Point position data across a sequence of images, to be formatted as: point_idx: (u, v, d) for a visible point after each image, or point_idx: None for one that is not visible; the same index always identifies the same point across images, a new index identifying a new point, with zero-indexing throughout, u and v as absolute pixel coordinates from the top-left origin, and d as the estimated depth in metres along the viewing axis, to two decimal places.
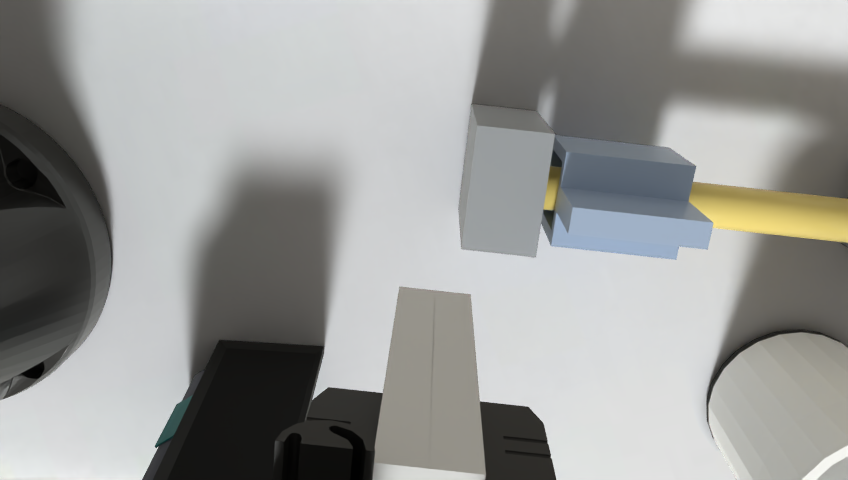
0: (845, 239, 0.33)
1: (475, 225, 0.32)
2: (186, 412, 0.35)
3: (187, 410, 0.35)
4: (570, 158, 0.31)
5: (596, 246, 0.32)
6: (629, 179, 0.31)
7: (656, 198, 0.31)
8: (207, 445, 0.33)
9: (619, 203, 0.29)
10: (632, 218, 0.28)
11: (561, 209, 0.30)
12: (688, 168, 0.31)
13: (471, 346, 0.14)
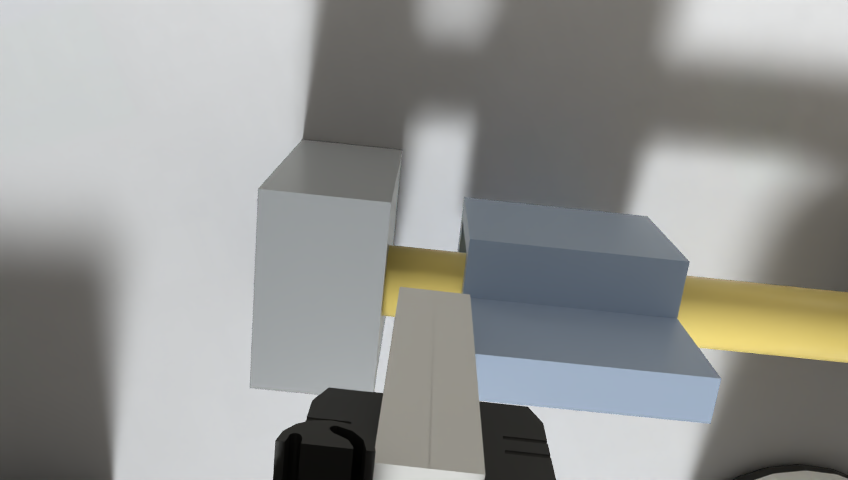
0: None
1: (269, 350, 0.19)
2: None
3: None
4: (477, 249, 0.18)
5: None
6: (577, 283, 0.18)
7: (623, 315, 0.18)
8: None
9: (556, 334, 0.17)
10: (576, 371, 0.16)
11: None
12: (676, 265, 0.18)
13: (471, 346, 0.14)
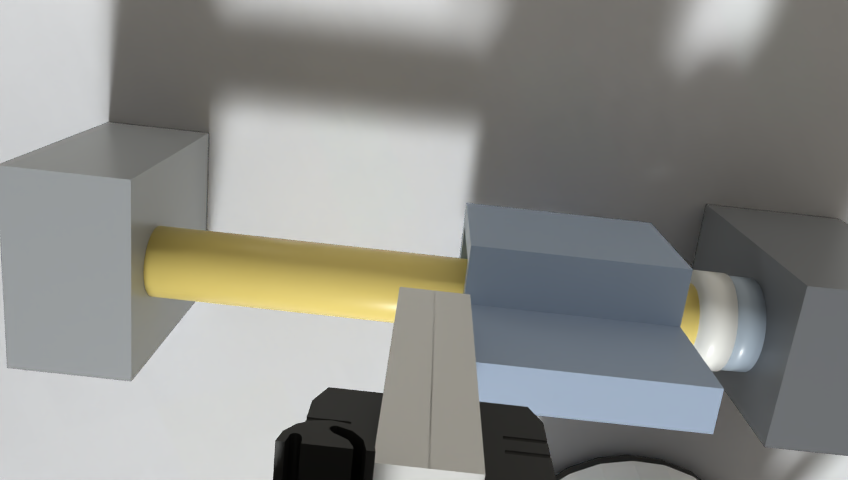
0: None
1: (23, 330, 0.19)
2: None
3: None
4: (478, 256, 0.18)
5: None
6: (579, 291, 0.18)
7: (625, 323, 0.18)
8: None
9: (558, 342, 0.17)
10: (577, 380, 0.15)
11: None
12: (680, 273, 0.18)
13: (471, 346, 0.14)
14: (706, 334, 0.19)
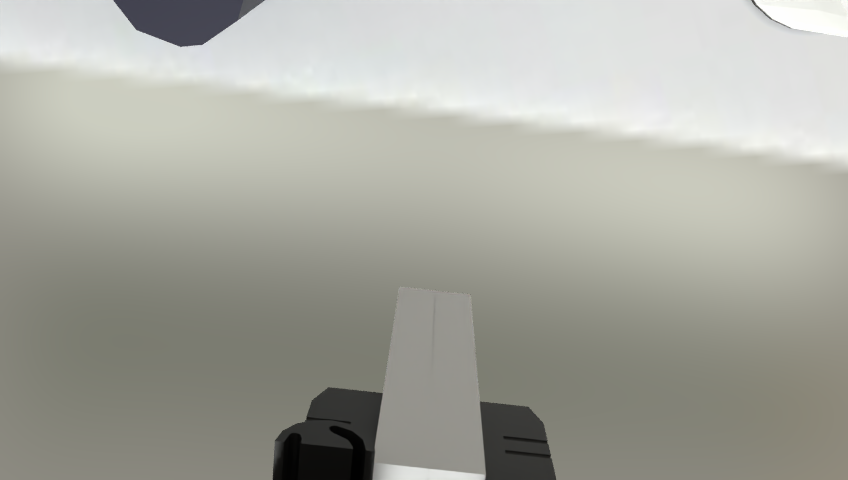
0: None
1: None
2: None
3: None
4: None
5: None
6: None
7: None
8: None
9: None
10: None
11: None
12: None
13: (471, 346, 0.14)
14: None
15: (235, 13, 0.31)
